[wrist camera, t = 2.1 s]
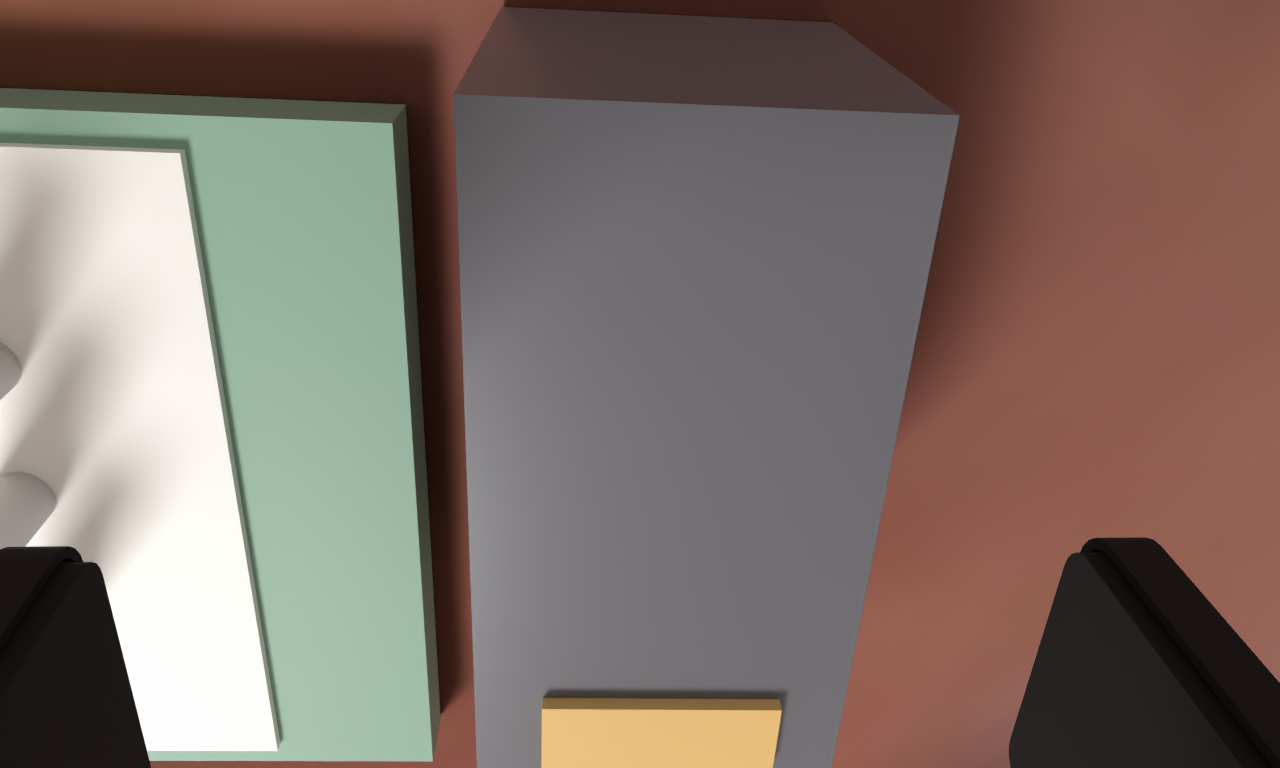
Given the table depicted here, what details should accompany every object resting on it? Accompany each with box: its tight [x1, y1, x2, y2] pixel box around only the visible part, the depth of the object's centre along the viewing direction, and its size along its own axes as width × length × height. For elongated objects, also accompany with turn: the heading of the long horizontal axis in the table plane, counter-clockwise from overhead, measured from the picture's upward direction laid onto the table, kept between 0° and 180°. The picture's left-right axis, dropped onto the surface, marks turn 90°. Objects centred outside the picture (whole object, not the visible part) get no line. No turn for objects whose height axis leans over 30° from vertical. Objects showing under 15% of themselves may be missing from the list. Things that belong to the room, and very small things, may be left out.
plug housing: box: [454, 7, 960, 768], centre depth 15 cm, size 5×10×6 cm, turn 177°
